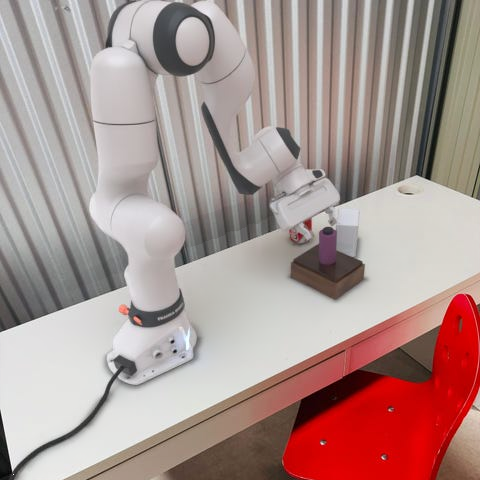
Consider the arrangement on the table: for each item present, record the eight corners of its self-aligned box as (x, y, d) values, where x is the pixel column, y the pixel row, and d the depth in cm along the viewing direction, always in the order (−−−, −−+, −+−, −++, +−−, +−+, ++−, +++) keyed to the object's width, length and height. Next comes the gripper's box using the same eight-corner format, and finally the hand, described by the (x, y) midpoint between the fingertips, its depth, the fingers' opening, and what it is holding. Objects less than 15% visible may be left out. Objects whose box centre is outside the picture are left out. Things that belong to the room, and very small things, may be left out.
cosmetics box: (356, 257, 135) (358, 225, 128) (333, 256, 137) (335, 224, 130) (357, 239, 143) (360, 208, 136) (336, 238, 144) (337, 207, 138)
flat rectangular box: (335, 299, 121) (336, 281, 117) (291, 277, 131) (290, 259, 127) (363, 279, 126) (365, 261, 123) (319, 259, 136) (319, 241, 132)
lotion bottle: (328, 266, 122) (329, 235, 116) (315, 260, 125) (315, 229, 119) (339, 259, 124) (340, 228, 118) (326, 253, 127) (327, 222, 121)
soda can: (312, 244, 143) (312, 209, 135) (290, 246, 144) (288, 211, 136) (310, 233, 148) (310, 198, 141) (288, 234, 149) (287, 200, 141)
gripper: (272, 194, 113) (302, 242, 113) (327, 167, 122) (354, 211, 122) (260, 206, 118) (289, 251, 118) (314, 179, 128) (340, 221, 128)
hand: (323, 231), depth 120 cm, fingers open, 8 cm apart
